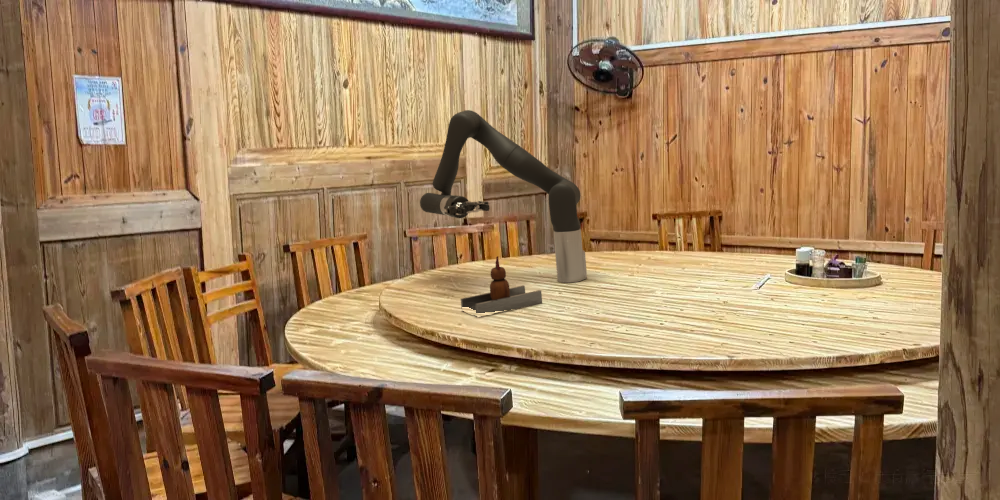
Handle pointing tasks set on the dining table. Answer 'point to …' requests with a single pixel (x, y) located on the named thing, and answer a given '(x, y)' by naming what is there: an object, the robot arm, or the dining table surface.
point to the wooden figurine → (499, 282)
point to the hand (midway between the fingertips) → (476, 209)
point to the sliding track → (503, 301)
